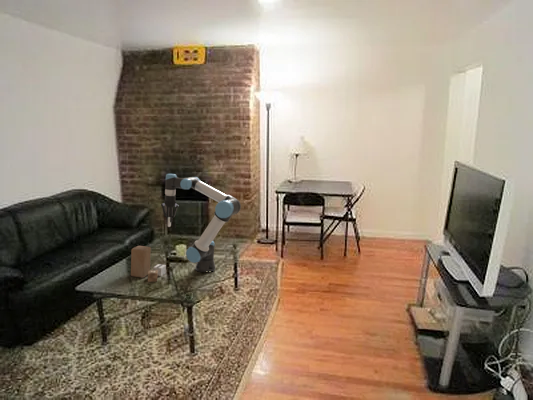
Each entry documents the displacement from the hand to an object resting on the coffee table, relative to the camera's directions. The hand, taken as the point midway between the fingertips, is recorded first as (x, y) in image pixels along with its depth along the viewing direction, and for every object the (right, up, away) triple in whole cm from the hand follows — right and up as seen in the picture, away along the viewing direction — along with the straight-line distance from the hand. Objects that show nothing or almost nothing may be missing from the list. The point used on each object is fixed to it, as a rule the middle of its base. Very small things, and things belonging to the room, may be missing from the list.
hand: (169, 226), depth 275 cm
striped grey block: (-5, -34, -8) cm, 35 cm away
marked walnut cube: (-6, -36, -19) cm, 41 cm away
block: (-17, -34, -12) cm, 40 cm away
